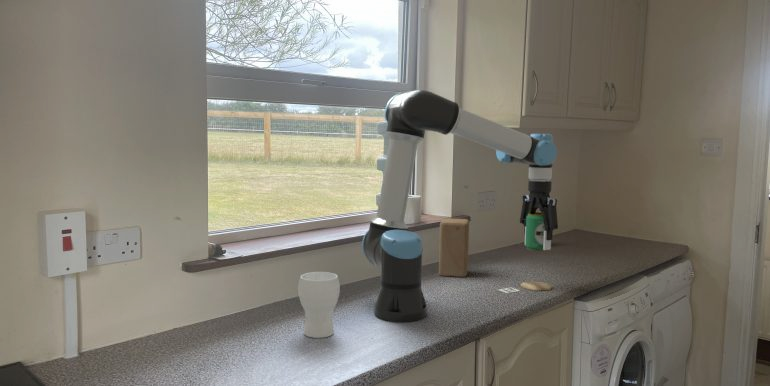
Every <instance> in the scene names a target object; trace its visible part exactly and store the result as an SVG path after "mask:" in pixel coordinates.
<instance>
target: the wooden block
mask: <svg viewBox="0 0 770 386" xmlns="http://www.w3.org/2000/svg"><path fill="white" fill-rule="evenodd" d="M469 237H470V220H469V219H467V218H448V217H447V218H445V217H444V218H442V220H441V221H440V223H439V246H438V247H439V249H438V253H439V254H438V275H439V276H443V277H458V278H465V277H466V276H467V274H468V270H469V242H470V241H469V240H470V239H469Z"/></svg>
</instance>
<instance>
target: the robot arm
mask: <svg viewBox="0 0 770 386" xmlns="http://www.w3.org/2000/svg"><path fill="white" fill-rule="evenodd" d="M384 117H385V121H386V122H387V126H386V132H385V133H386V135H387V137H389V138H388V139H389V142H388V143H389V144H388V147H387V153H386V160H385V165H384V171H383V178H382V184H381V188H380V189H381V190H380V193H379V194H380V195H379V199H378V205H377V206H378V207H377V211H376V216H375V217H374V218H372V219H371V220H370V223H369V228H368V230H367V231H366V232H365V234H364V236H363V238H362V242H361V248H362V252H363V254H364V256H365V257H366V259H367V260H368V261H369V262H370V263H371V264H372V265H373V266H376V267H378V268H379V269H380V289H379V291H378V294H377V297H376V300H375V303H374V309H373V313H374V315H375V316H376V317H377V318H378V319H381V320H385V321H389V322H398V323H400V322H401V323H403V322H407V323H408V322H414V321H418V320H422V319H424V318H426V316H427V315H428V307H427V302H426V299H425V296H424V293H423V289H422V276H423V275H422V270H423V269H422V268H423V265H422V264H423V248H424V247H423V240H422V237H421V236H420V235H419V234H418V233H416V232H414V231H410V230H408V229H409V227H408V225H407V224H406V222H405V218H406V217H405V216H406V212H407V207H408V201H409V200H408V199H409V195H410V189H411V183H412V178H413V174H414V167H415V161H416V155H417V149H418V144H419V143H421V142H422V141H423V140H424V139H425V134H426V131H427V132H428V131H429V132H435V133H439V134H442V135H445V136H447V135H449V134H451V135H455V136H457V137H460V138H463V139H466V140H468V141H471V142H474V143H476V144H479V145H481V146H485V147H487V148H489V149H492V150H495V155H496V157H497V160H498V162H500V163H503V164H505V163H506V164H512V163H513V164H515V163H517V164H526V165H527V164H528V179H529V180H528V184H527V185H528V186H527V187H528V188H527V191H529V194H524V195H522V205H521V211H520V218H519V223H520V224H522V225H523V227H524V228H523V229H524V231H523V235H524V243H525V242H526V217H527V216H528V213H530V214H535V213H536V212H537V210H539V211H540V213H542V215H543V218H544V224H545V228H546V229H544V237H543V250H547V251H551V248H552V246H551V245H552V240H553V235H554V233H553V232H554V230H557V229H559V225H558V211H557V202H558V200H557V199H556V198H551V196H550V193H551V192H552V184H553V183H552V181H551V180H552V178H553V177H552V176H553V175H552V174H553V163H554V162H555V160H556V158H557V155H558V150H557V147H556V145H555V144H554V136H553V135H552V134H551V133H531V134H530V135H528V134H527V133H526V134H525V133H523V132H522V131H521V132H520V131H519V130H515V129H513V128H510V127H508V126H506V125H503V124H501V123H497V122H496V121H493V120H490V119H487V118H485V117H484V116H480V115H478V114H475V113H473V112H470V111H468V110H466V109H463V108H461V107H460V105H459V103H457V102H455V101H452V100H450V99H448V98H447V97H444V96H441V95H439V94H437V93H435V92H432V91H429V90H425V89H416V90H411V91H410V90H409V91H408V90H406V91H401V92H399V93H396V94H395V95H393V96H392V97H391V98H390V99H389V100H388V102H387V104H386V106H385V109H384ZM549 226H550V227H549Z"/></svg>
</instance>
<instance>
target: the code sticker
mask: <svg viewBox="0 0 770 386" xmlns="http://www.w3.org/2000/svg"><path fill="white" fill-rule="evenodd" d="M497 291H500V292H502V293H505V294H509V293H515V292H520V291H521V290H519V289H517V288H514V287H507V288H506V287H505V288H500V289H499V288H498V289H497Z"/></svg>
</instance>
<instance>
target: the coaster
mask: <svg viewBox="0 0 770 386" xmlns="http://www.w3.org/2000/svg"><path fill="white" fill-rule="evenodd" d="M520 288H522V289H524V290H526V291H527V290H528V291H532V292H546V291H550V290H552V286H551V284H549V283H545V282H541V281H524V282H521V283H520Z"/></svg>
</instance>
